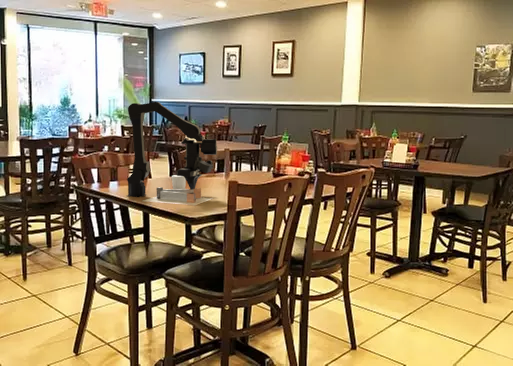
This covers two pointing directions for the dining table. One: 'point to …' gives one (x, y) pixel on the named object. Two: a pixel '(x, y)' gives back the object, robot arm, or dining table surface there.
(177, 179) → the white cup
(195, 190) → the tong leg
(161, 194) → the tong fixed leg
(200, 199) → the cutting board
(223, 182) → the dining table surface
